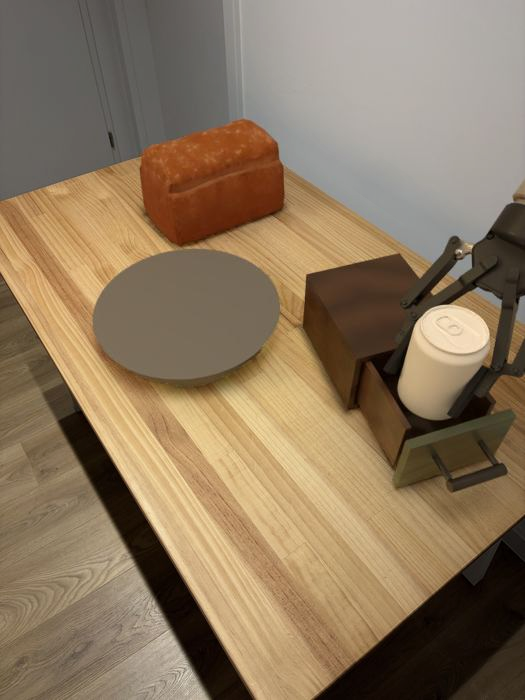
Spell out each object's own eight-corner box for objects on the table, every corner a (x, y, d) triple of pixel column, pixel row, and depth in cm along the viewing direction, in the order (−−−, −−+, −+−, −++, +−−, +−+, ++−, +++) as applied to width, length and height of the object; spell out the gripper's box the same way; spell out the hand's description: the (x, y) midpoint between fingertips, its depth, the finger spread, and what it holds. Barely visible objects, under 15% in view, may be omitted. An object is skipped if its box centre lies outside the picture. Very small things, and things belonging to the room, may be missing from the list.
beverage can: (428, 434, 64) (454, 368, 55) (382, 387, 68) (400, 319, 59) (478, 404, 67) (511, 336, 58) (431, 361, 71) (454, 292, 62)
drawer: (516, 488, 67) (543, 449, 60) (415, 523, 64) (433, 486, 57) (430, 366, 80) (445, 323, 73) (343, 391, 77) (351, 348, 70)
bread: (138, 206, 108) (124, 134, 97) (245, 170, 117) (243, 100, 106) (177, 252, 99) (165, 178, 88) (290, 210, 107) (293, 137, 96)
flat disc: (314, 350, 83) (316, 329, 80) (141, 430, 74) (135, 411, 70) (227, 250, 99) (225, 229, 96) (75, 306, 90) (67, 285, 86)
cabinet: (441, 383, 79) (461, 331, 71) (346, 410, 76) (356, 359, 68) (387, 305, 89) (399, 252, 81) (302, 327, 86) (305, 274, 78)
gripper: (639, 271, 57) (506, 448, 61) (463, 190, 67) (361, 347, 72) (644, 253, 50) (495, 452, 55) (449, 166, 60) (337, 341, 65)
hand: (419, 393), depth 63 cm, fingers closed on beverage can, 8 cm apart
